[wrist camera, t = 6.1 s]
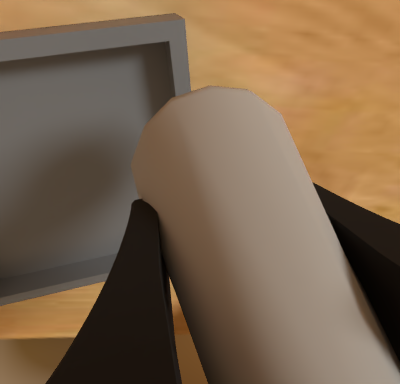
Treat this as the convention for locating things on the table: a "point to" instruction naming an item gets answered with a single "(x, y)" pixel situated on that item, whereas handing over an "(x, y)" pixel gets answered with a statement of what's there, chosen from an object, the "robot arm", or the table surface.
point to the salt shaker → (254, 248)
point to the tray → (76, 143)
